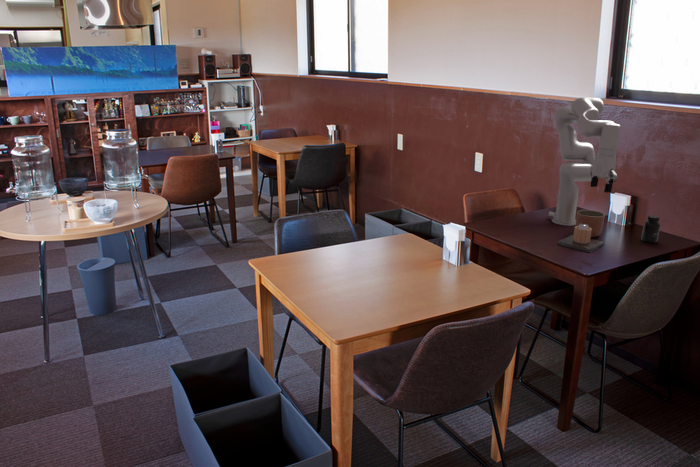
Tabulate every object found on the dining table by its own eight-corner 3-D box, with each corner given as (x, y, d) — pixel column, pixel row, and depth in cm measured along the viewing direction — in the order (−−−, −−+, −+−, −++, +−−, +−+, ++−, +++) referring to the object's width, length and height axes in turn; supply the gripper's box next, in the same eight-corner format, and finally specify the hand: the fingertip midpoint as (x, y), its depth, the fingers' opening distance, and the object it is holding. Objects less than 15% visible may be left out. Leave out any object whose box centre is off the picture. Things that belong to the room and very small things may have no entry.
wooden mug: (579, 243, 245) (581, 230, 243) (569, 238, 252) (571, 226, 250) (594, 242, 247) (596, 229, 245) (584, 237, 254) (586, 225, 252)
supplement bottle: (655, 244, 252) (660, 219, 248) (639, 241, 256) (644, 216, 252) (658, 240, 257) (663, 216, 253) (642, 237, 261) (646, 213, 257)
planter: (607, 237, 261) (611, 215, 258) (587, 240, 257) (590, 217, 253) (587, 230, 272) (591, 208, 269) (568, 232, 268) (571, 211, 264)
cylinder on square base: (557, 244, 250) (560, 224, 247) (571, 237, 260) (574, 218, 257) (590, 252, 240) (593, 232, 237) (603, 245, 250) (607, 225, 247)
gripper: (587, 148, 247) (581, 184, 253) (612, 156, 231) (605, 194, 237) (601, 147, 249) (595, 184, 254) (628, 155, 233) (620, 194, 239)
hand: (600, 189), depth 246 cm, fingers open, 9 cm apart
